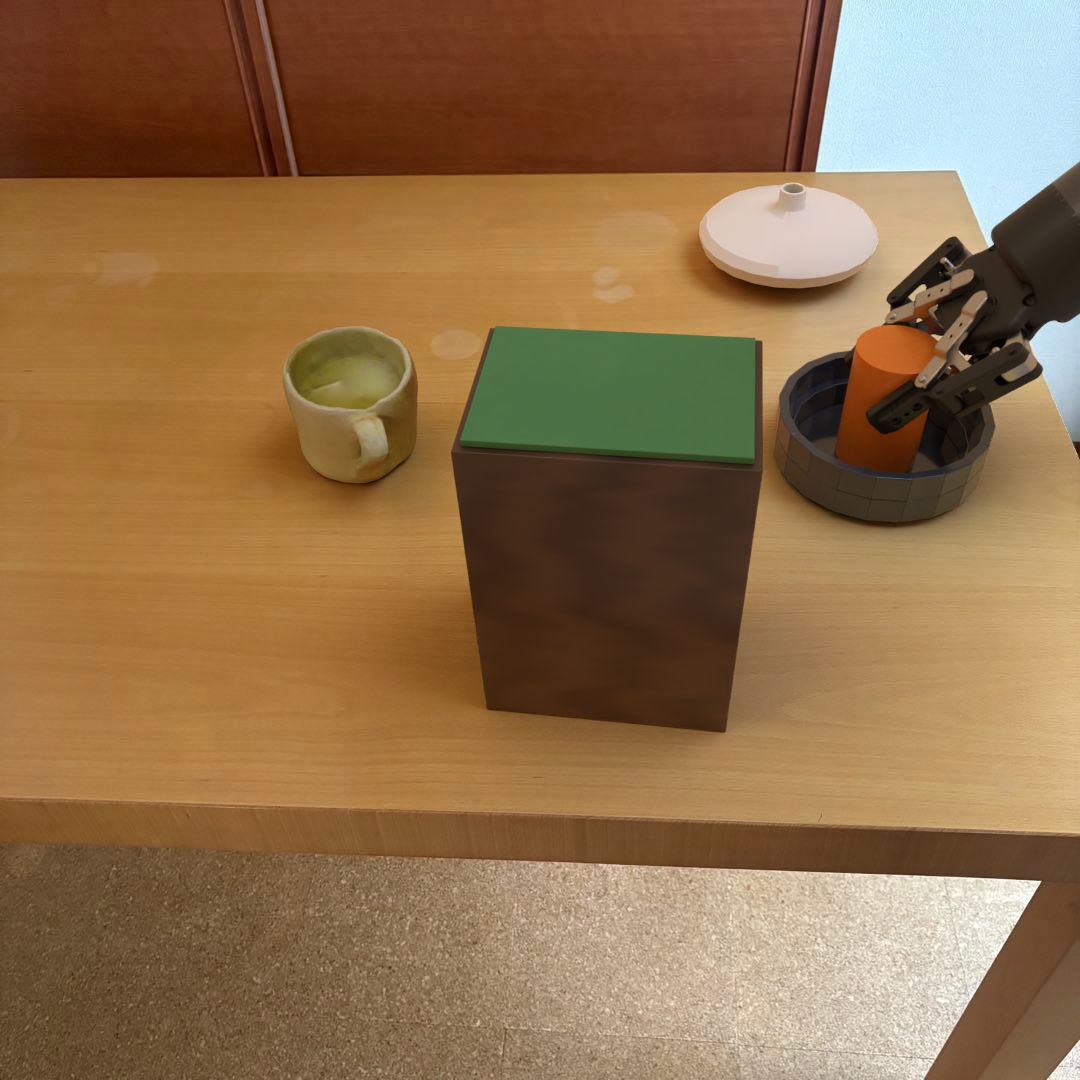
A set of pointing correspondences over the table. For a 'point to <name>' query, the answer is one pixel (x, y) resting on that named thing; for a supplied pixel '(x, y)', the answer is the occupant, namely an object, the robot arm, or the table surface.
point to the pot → (863, 493)
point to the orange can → (874, 375)
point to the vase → (788, 236)
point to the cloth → (616, 395)
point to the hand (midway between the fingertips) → (863, 395)
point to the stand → (608, 578)
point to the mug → (353, 402)
